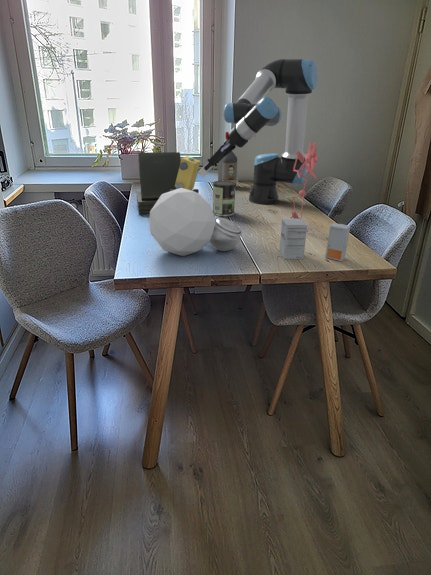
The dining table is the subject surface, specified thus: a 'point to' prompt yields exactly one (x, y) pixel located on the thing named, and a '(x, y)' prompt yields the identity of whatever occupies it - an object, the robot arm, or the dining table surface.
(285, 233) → the supplement box
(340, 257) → the skincare box
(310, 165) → the figurine
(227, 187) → the coffee can
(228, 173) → the liquor
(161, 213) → the lamp
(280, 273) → the dining table surface
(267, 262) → the dining table surface
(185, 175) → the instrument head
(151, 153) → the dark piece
